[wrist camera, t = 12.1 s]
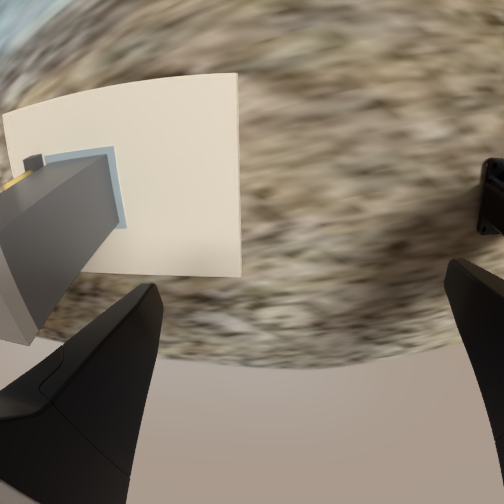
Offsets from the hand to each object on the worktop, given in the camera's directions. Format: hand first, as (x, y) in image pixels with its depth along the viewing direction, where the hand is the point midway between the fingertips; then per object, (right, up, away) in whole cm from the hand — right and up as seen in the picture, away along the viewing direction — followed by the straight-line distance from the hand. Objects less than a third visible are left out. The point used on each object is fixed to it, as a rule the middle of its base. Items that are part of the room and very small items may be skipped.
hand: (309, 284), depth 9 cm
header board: (-11, +6, +12) cm, 18 cm away
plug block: (-13, +5, +11) cm, 18 cm away
